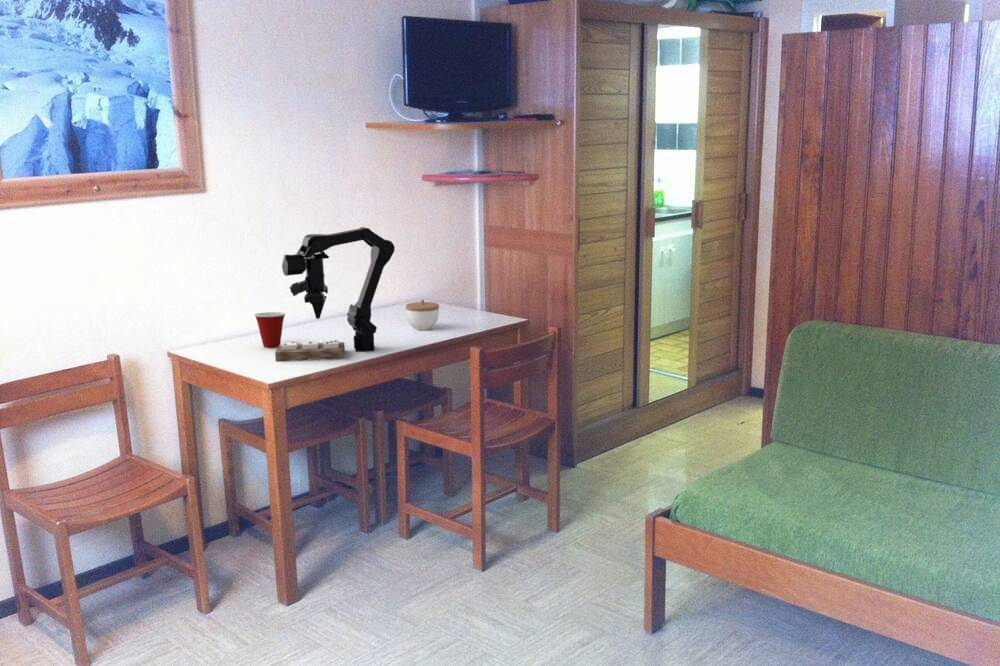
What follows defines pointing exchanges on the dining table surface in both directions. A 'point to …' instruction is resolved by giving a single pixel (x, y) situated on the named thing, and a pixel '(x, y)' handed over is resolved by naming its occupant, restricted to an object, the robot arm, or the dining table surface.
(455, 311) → the dining table surface
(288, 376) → the dining table surface
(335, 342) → the three dot key
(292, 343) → the two dot key
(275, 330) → the plastic cup
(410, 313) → the lidded bowl
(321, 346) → the key panel
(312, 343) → the one dot key
